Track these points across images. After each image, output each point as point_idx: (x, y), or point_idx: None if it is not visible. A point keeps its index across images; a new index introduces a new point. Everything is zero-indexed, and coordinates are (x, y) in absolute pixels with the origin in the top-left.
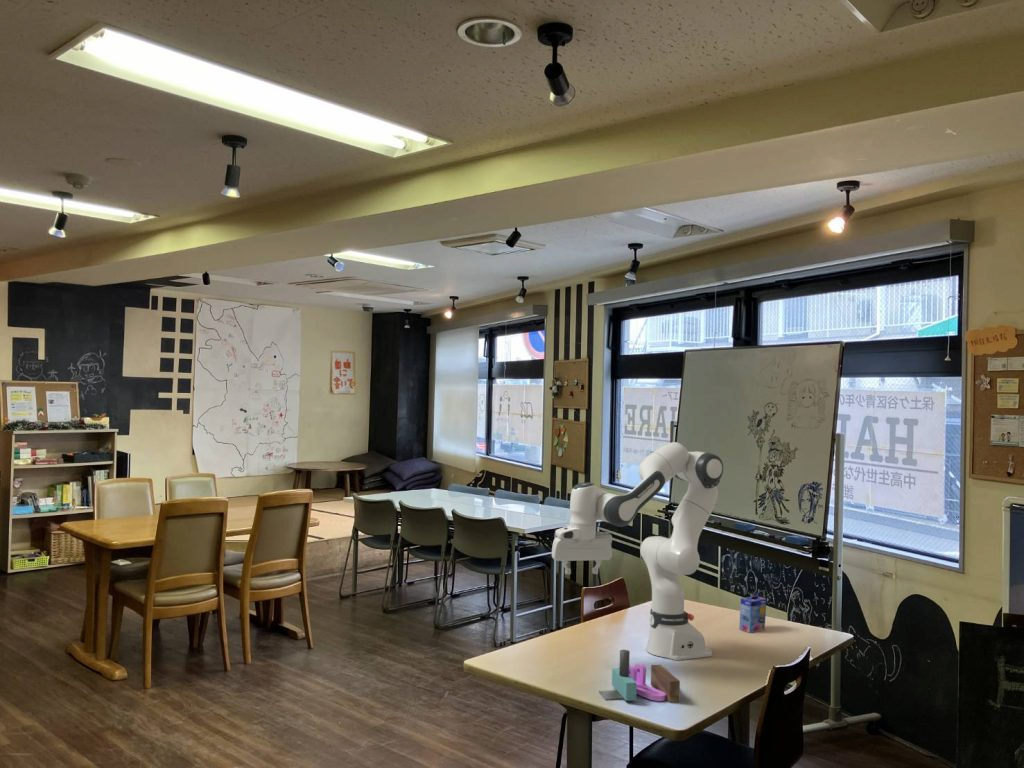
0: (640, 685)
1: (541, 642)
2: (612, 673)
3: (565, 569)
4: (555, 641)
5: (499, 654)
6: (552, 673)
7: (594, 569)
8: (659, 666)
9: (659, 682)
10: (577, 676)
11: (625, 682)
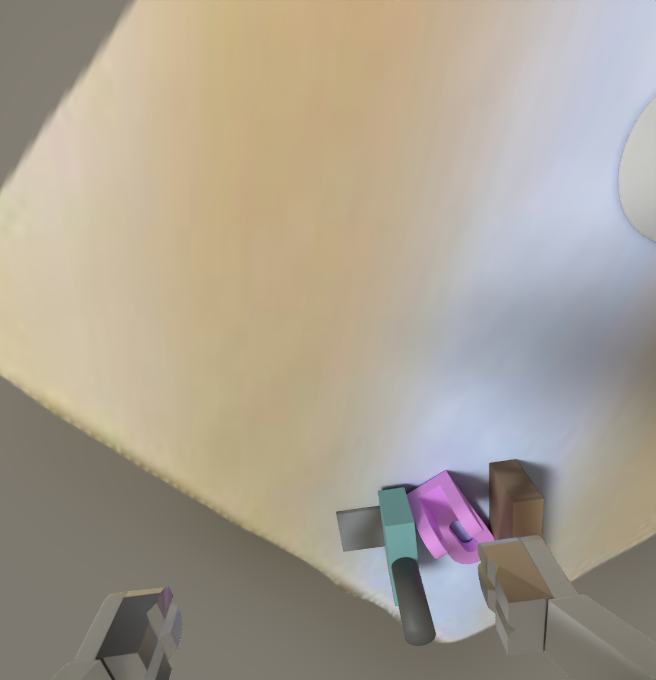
0: (450, 508)
1: (173, 31)
2: (383, 516)
3: (89, 655)
4: (242, 9)
5: (11, 220)
6: (220, 397)
7: (511, 641)
8: (533, 512)
9: (500, 528)
10: (295, 416)
11: (394, 599)
